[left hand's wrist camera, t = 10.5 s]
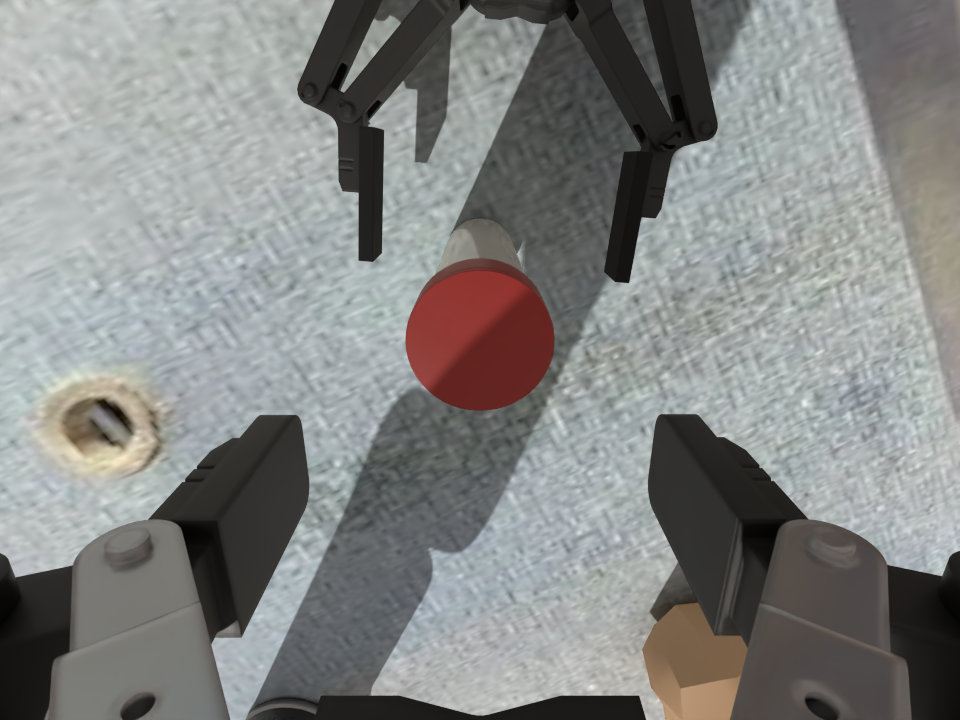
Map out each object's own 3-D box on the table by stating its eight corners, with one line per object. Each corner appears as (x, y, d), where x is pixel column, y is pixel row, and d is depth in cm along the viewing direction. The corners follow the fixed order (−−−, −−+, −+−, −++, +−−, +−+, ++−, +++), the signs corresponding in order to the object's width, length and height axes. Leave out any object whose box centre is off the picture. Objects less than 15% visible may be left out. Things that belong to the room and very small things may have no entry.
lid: (573, 304, 20) (584, 320, 18) (500, 408, 21) (502, 435, 19) (457, 230, 19) (454, 239, 17) (388, 345, 20) (379, 366, 18)
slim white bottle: (526, 241, 35) (569, 320, 18) (490, 298, 36) (499, 419, 20) (468, 204, 34) (458, 250, 17) (433, 263, 36) (392, 358, 19)
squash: (732, 557, 44) (816, 654, 36) (766, 687, 53) (840, 787, 45) (615, 616, 44) (673, 726, 36) (669, 736, 53) (726, 846, 45)
